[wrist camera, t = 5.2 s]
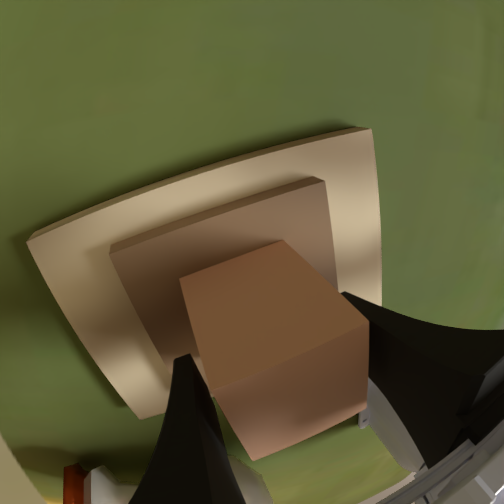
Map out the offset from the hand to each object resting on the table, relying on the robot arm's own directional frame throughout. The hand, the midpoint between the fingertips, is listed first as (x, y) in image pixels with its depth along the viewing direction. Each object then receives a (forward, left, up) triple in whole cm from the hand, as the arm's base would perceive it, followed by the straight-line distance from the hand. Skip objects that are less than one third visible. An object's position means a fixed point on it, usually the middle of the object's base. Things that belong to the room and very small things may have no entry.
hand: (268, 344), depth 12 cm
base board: (0, 0, -5) cm, 5 cm away
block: (0, 0, -3) cm, 3 cm away
